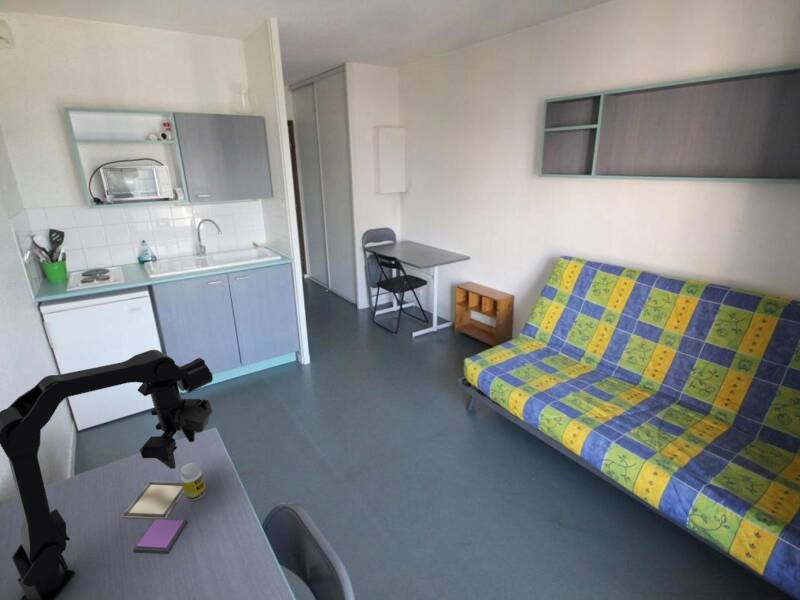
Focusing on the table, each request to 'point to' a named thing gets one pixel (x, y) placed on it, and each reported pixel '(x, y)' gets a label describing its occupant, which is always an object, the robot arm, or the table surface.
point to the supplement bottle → (193, 481)
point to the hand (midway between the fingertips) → (183, 454)
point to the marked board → (155, 501)
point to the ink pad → (160, 536)
